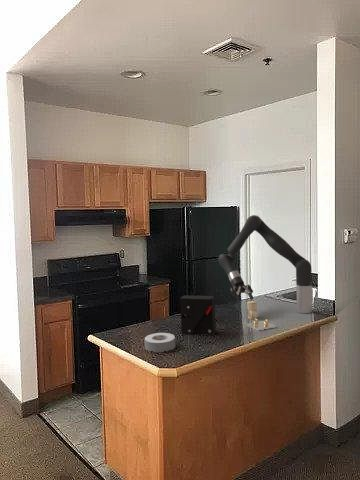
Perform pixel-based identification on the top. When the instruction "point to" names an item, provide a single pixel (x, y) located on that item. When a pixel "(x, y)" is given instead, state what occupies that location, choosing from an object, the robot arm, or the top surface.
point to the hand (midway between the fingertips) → (246, 300)
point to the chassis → (261, 325)
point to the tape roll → (160, 342)
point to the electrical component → (198, 315)
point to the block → (252, 310)
